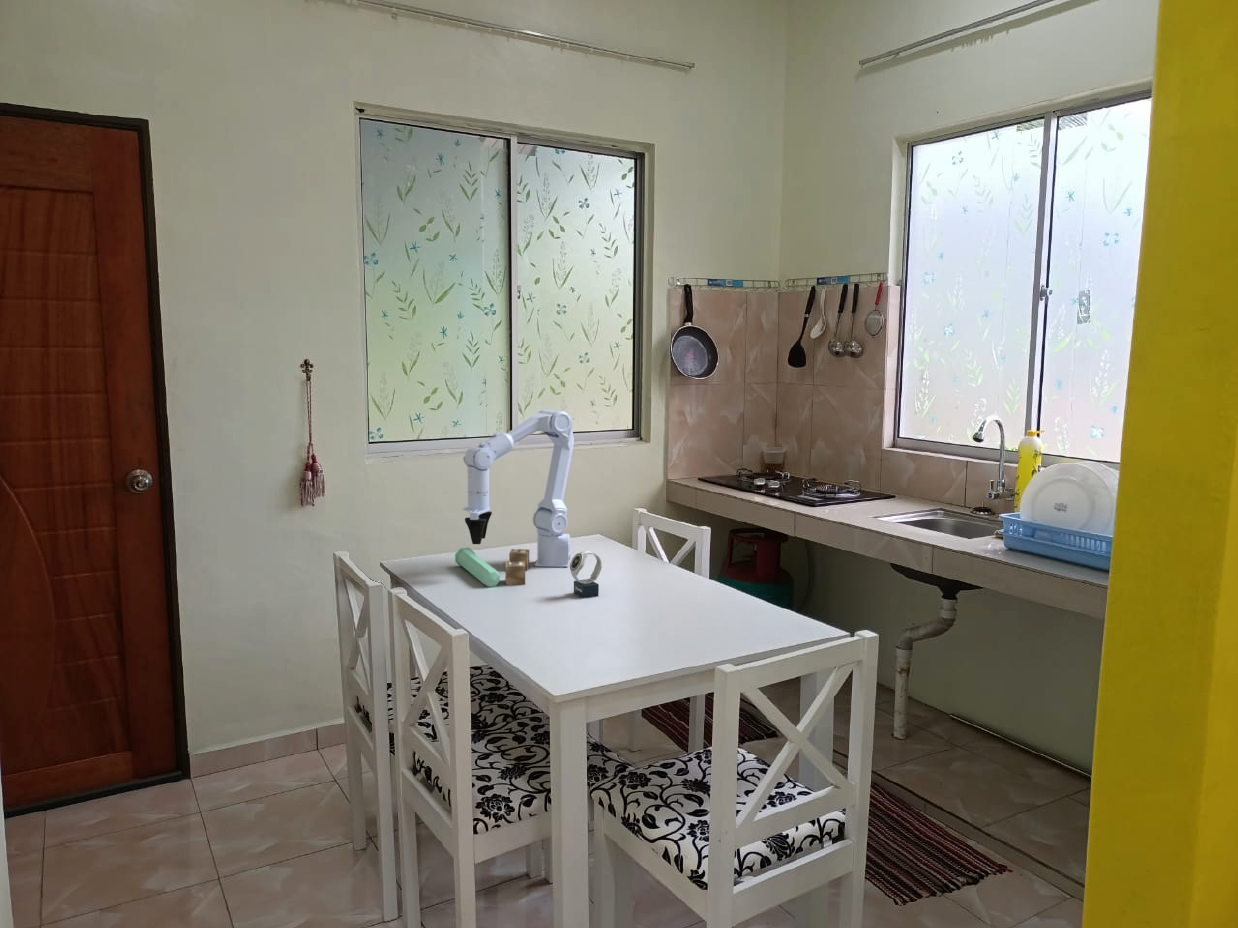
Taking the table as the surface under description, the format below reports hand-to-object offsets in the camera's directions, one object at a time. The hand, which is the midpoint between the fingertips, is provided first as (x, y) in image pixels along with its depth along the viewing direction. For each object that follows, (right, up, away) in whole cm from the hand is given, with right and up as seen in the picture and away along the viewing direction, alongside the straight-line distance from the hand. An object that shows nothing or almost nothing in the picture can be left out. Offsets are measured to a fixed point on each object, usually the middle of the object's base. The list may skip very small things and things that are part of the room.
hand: (478, 541), depth 246 cm
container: (0, -10, 0) cm, 10 cm away
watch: (+30, -12, -16) cm, 36 cm away
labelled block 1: (+10, -9, +9) cm, 16 cm away
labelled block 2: (+11, -11, -6) cm, 16 cm away
